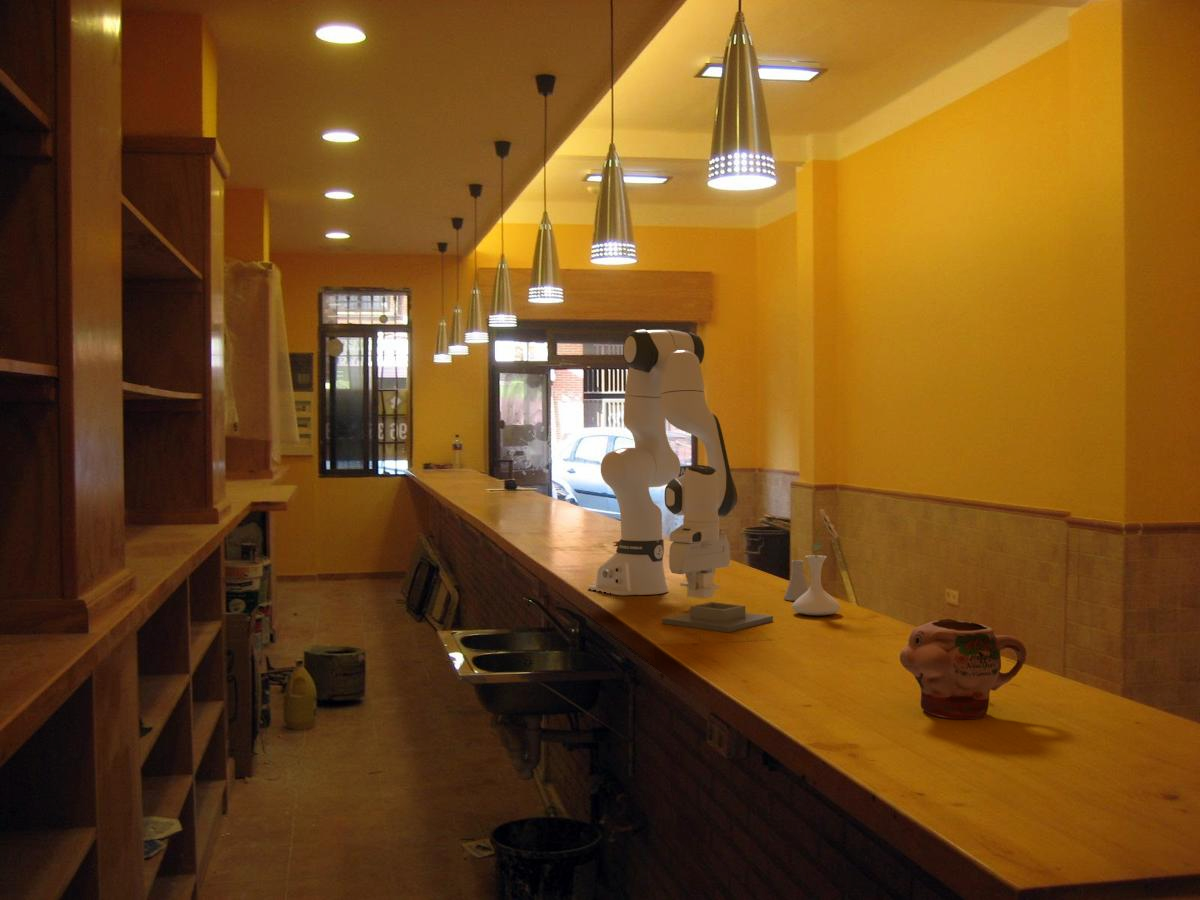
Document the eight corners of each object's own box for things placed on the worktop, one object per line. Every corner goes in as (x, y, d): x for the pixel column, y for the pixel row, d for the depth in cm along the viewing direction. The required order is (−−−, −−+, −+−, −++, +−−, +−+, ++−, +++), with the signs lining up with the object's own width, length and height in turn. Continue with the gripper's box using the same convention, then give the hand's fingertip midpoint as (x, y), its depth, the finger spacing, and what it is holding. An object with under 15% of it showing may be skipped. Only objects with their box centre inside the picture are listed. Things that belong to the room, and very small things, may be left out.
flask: (814, 602, 289) (814, 562, 289) (785, 602, 289) (785, 562, 289) (809, 597, 296) (809, 559, 296) (781, 597, 296) (781, 559, 296)
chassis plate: (662, 623, 260) (662, 607, 259) (708, 613, 273) (708, 597, 273) (728, 632, 248) (728, 615, 248) (772, 621, 261) (772, 605, 261)
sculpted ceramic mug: (1003, 699, 187) (1003, 615, 186) (1043, 719, 175) (1043, 628, 174) (887, 705, 184) (887, 619, 183) (920, 725, 171) (920, 633, 171)
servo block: (680, 595, 281) (680, 569, 280) (690, 593, 284) (690, 567, 283) (710, 600, 274) (711, 573, 274) (720, 597, 277) (721, 571, 277)
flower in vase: (827, 620, 262) (827, 511, 262) (783, 615, 269) (782, 509, 268) (851, 612, 273) (851, 508, 272) (808, 608, 279) (808, 506, 279)
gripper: (716, 528, 288) (715, 582, 289) (664, 534, 273) (664, 591, 274) (736, 530, 284) (735, 585, 284) (685, 536, 269) (685, 595, 269)
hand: (700, 588), depth 279 cm, fingers closed on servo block, 4 cm apart
